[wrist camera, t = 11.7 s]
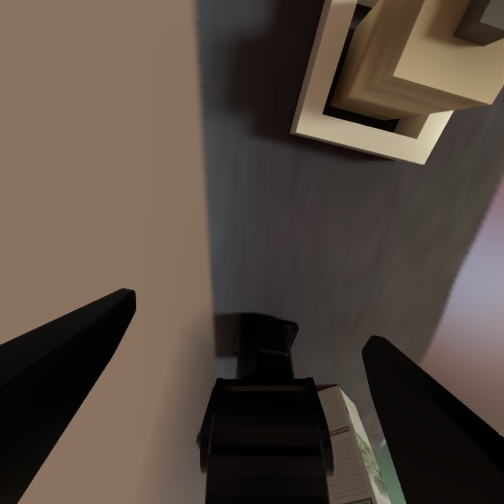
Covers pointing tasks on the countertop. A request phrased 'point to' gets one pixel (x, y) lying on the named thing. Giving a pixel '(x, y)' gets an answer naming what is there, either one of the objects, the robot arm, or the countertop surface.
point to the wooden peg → (423, 58)
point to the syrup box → (350, 454)
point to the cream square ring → (344, 132)
